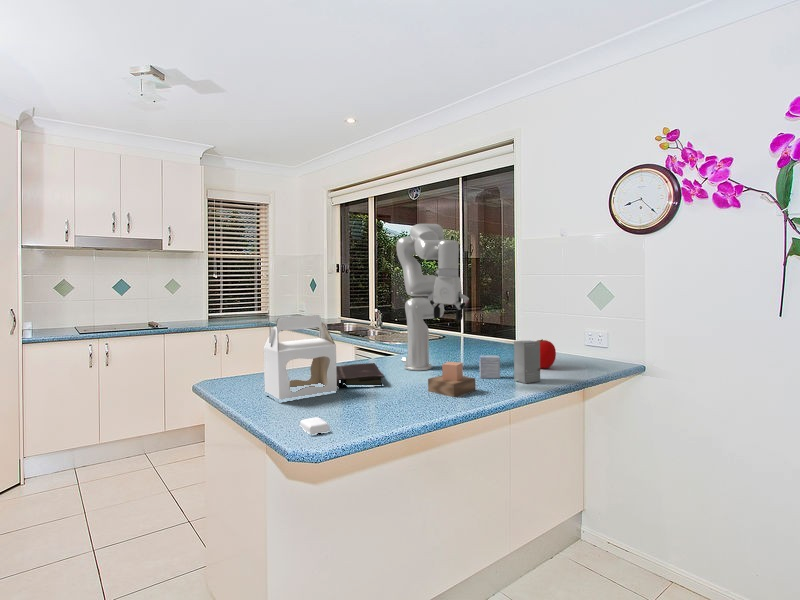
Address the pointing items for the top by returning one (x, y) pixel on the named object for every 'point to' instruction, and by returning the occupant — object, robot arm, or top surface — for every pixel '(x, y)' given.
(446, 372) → the terracotta cube
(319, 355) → the gable box
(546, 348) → the tomato
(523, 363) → the tall grey block
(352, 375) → the diary
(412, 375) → the top surface
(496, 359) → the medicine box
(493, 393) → the top surface
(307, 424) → the soap
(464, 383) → the walnut block
